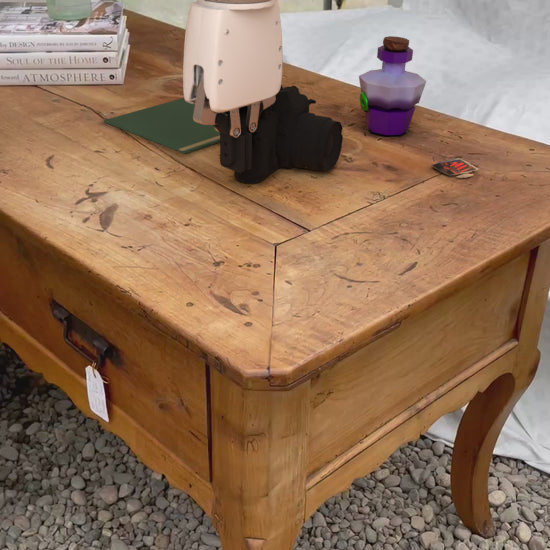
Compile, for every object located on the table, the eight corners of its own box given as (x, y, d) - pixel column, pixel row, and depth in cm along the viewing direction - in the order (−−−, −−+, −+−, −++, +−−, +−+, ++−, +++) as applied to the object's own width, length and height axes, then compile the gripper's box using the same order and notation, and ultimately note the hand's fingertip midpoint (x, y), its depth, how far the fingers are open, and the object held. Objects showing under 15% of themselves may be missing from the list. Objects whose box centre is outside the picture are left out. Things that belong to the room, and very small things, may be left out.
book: (185, 154, 94) (185, 151, 93) (103, 122, 103) (103, 119, 103) (284, 120, 105) (284, 118, 105) (203, 94, 114) (203, 92, 114)
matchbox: (427, 168, 91) (428, 164, 91) (455, 158, 94) (456, 155, 94) (459, 181, 88) (459, 177, 88) (487, 171, 91) (487, 167, 91)
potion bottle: (341, 125, 104) (347, 34, 98) (390, 115, 108) (399, 27, 102) (383, 145, 98) (393, 49, 92) (433, 134, 102) (446, 41, 96)
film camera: (301, 198, 83) (305, 117, 79) (223, 180, 87) (222, 102, 82) (354, 154, 95) (360, 81, 90) (283, 139, 99) (286, 69, 94)
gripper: (262, -27, 80) (259, 141, 90) (148, -11, 71) (158, 176, 80) (317, -17, 76) (308, 159, 85) (204, 2, 66) (208, 198, 76)
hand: (235, 167), depth 83 cm, fingers closed
